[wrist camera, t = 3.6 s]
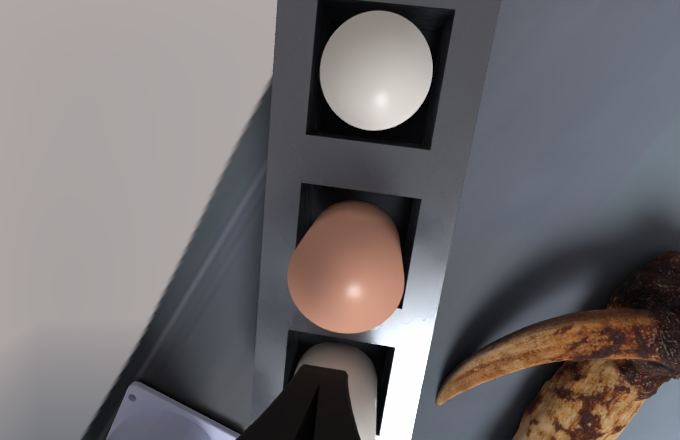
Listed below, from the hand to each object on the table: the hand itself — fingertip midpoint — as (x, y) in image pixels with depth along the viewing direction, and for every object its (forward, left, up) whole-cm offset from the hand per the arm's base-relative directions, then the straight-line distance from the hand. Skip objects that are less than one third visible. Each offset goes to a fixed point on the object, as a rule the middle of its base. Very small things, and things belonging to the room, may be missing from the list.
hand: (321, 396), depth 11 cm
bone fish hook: (0, -12, -10) cm, 16 cm away
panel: (+2, +1, -10) cm, 10 cm away
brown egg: (+2, +1, -7) cm, 7 cm away
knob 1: (+9, +3, -9) cm, 13 cm away
